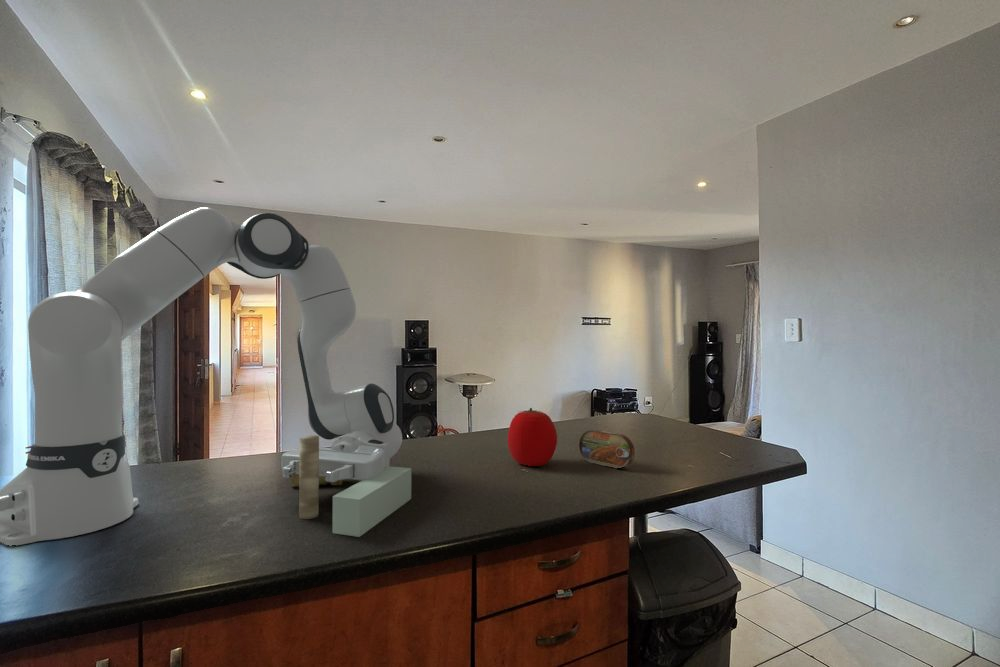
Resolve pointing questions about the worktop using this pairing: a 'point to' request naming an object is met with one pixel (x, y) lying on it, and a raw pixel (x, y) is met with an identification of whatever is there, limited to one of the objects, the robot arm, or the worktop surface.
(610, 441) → the tin
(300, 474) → the dowel
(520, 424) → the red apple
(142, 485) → the worktop surface
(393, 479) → the pale mint rectangular block
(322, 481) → the gavel
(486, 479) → the worktop surface
